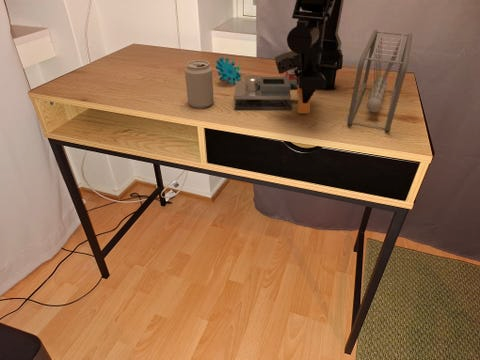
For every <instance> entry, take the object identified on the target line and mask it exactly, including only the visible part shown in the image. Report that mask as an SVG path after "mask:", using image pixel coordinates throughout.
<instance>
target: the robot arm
mask: <svg viewBox="0 0 480 360" xmlns="http://www.w3.org/2000/svg"><path fill="white" fill-rule="evenodd" d="M343 6H344V0H295V4H294V9H293V12H292V14H291V15H292V16H291V19H294V20H295V19H296V26H294V27H293V28H292V29H290V30H289V32H288V34H287V37H286V44H287V48H288V47H289V48H290V49H291V51H290V52H284V53H282V54H279V55H276V56H275V57H274V62H275V65H276V68H277V71H278V74H280V75H282V74H284V73H285V74H286V71H289V70H291V69H294V68H296V67H297V70H294V73H295V75H296V76H297V77H298V79H296V80H297V83H298V86H299V88H300V89H302V100H303V103H307V102H308V101H309V99H310V98H311V99H312V97H313V96H312V94H313V95H314V93H315V92H316V90H336V86H335V85H336V75H337V72H338V71H340V70H342V69H343V64H344V55H343V50H342V41H341V38H340V35H339V29H340V23H341V17H342V11H343V8H344V7H343Z"/></svg>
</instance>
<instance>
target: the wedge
mask: <svg viewBox="0 0 480 360" xmlns="http://www.w3.org/2000/svg"><path fill="white" fill-rule="evenodd" d="M296 95H297V109H296V111H297V114H309V113H310V109H311V100H312V97H313V96H314V93H313V94H312V96H311V98H310V99H309V101H308V102H307V103H303V100H302V89H300V88H299V86H298V89H297V90H296Z"/></svg>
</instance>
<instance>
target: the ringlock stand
mask: <svg viewBox="0 0 480 360" xmlns="http://www.w3.org/2000/svg"><path fill="white" fill-rule="evenodd" d="M234 86H235V88H234V111H292V109H293V107H292V102H291V98H292V97H291V91H297V89H298V83H297V80H289V78H288V77H285V76H259V75H253V74H251V75H246V76H244V80H241V81H236V85H234Z"/></svg>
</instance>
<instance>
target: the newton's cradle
mask: <svg viewBox="0 0 480 360" xmlns="http://www.w3.org/2000/svg"><path fill="white" fill-rule="evenodd" d="M378 34H380V35H379V38H378V40H377V37H378ZM384 34H386V35H394V36H396V35H397V36H401V38H399V40H398V42H395V41H392V43H395V44H397V45H396V46H393V45H391V47H395V50H394V51H393V50H390V49H387V51H388V52H389V51H390V52H393V54H390V56H391V58H390V60H387V59H381V56H382V55H384V56H385V55H386V56H387V53H386V54H383V53H382V52H383V51H384V49H382V48H383V47H382V46H384V47H387V45H385V44H383V42H384V43H385V42H386V43H388V41H386V40H383V38H384V39H386V37H384V36H383V35H384ZM405 36H406V41H405V44H404V49H403V52H402V57H401V60H400V61H399V58H400V54H401V53H400V52H401V50H402V44H403V39H404V37H405ZM391 39H393V40H396V37H395V38H394V37H393V38H392V37H391ZM412 39H413V33H412V32H409V33H400V32H388V31H378V30H377V29H374V30H373V32H372V33H371V36H370V37H369V40H368V42H367V44H366V45H365V48H364V49H363V51H362V54H361V55H360V58H359V62H358V65H357V69H356V75H355V81H354V84H353V91H352V96H351V99H350V100H351V102H350V106H349V112H348V117H347V120H346V121H347V124H348V126H349V125H352V124H355V125H361V126H367V127H372V128H378V129H384V131H385V132H390V130H391V126H392V123H393V120H394V117H395V116H394V115H395V113H396V108H397V105H398V102H399V98H400V94H401V91H402V87H403V83H404V80H405V77H406V73H407V69H408V65H409V60H410V59H409V58H410V53H411V46H412V42H413V41H412ZM376 41H377V43H376ZM367 56H368V57H367ZM374 57H375V58H374ZM365 61H367V62H366V67H365V71H364V70H363V69H364V65H365ZM372 61H373V62H375V66H374V70H373V71H374V73H373V77H374V79H373V85H372V86H371V87H370V86H369V87H368V86H367V82H368V80H369V74H370V70H371V69H370V68H371V66H372ZM382 62H384V63H388V65H387V67H386V69H385V71H384V74H383V76H382V65H381V63H382ZM394 64H399V68H398V71H397V74H396V79H395V83H394V86H393V90H390V89H389V90H388V89H386V87H387V85H388V80H387V78H388V75H389V73H390V72H391V69H392V67H393V65H394ZM363 71H364V76H363V80H362V86H361V88H360V84H361V78H362V74H363ZM359 89H360V90H359ZM365 89H368V90H369V89H370V92H369V96H368V99H367V102H366V105H365V106H366V109H367V110H368V111H369V112H372V113H374V112H377V111H380V109H381V108H382V103H383V101H384V99H383V98H384V97H385V92H389V93H391V94H392V95H391V98H390V99H391V100H390V103H389V107H388V113H387V117H386V118H387V119H386V123H385V126H378V125H373V124H367V123H364V122H363V123H362V122H356V121H354V119H355V116H356V113H357V111H358V110H359V109H358V108H359V106H360V103H361V101H362V98H363V95H364V93H365Z"/></svg>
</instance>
